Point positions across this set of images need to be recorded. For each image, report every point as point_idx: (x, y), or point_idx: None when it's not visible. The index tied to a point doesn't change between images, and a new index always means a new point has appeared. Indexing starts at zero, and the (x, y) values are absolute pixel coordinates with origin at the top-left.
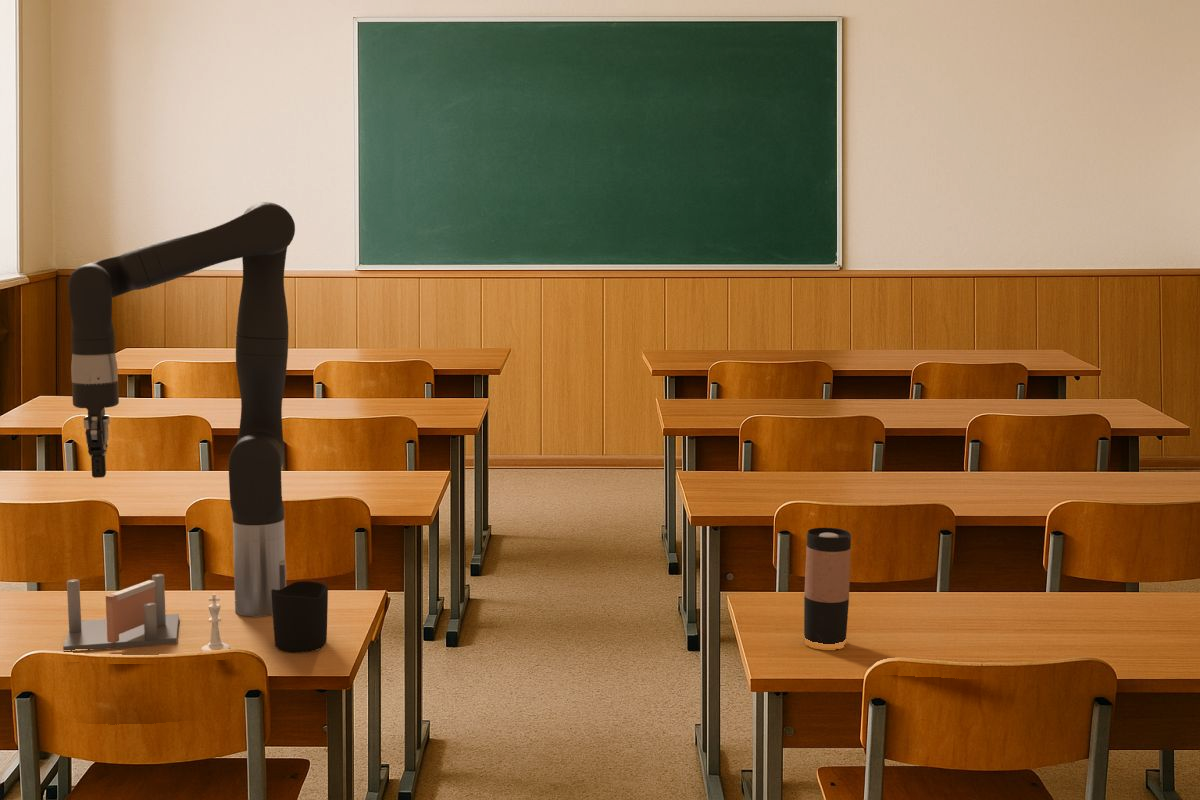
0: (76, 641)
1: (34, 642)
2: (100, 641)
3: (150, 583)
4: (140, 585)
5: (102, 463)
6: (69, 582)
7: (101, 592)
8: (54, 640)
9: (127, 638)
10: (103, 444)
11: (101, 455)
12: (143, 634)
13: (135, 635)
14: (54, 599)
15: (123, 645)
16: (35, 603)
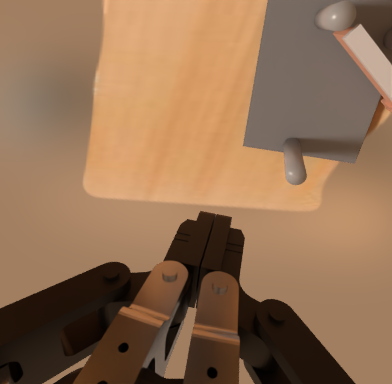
0: (341, 146)
1: (289, 187)
2: (360, 116)
3: (368, 36)
4: (379, 59)
5: (224, 256)
6: (303, 181)
7: (98, 99)
8: None
9: None
10: (291, 358)
11: (247, 295)
12: None
13: None
14: (119, 156)
15: None
16: (131, 175)
